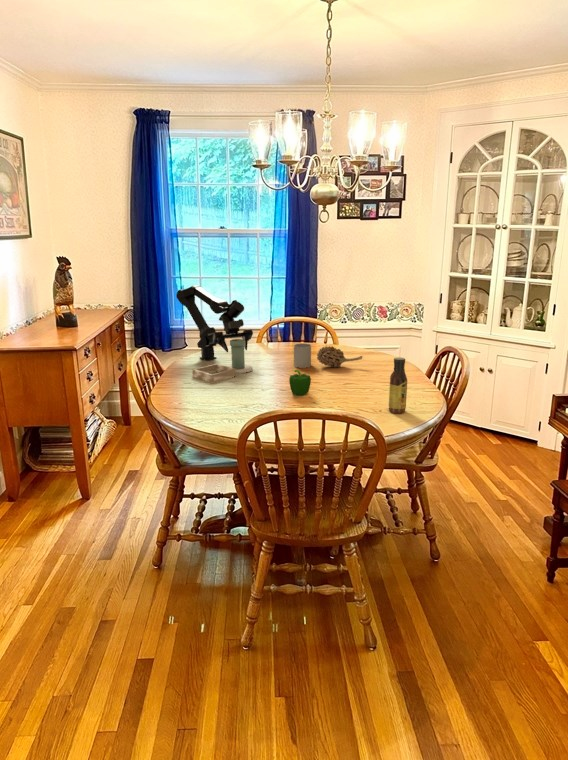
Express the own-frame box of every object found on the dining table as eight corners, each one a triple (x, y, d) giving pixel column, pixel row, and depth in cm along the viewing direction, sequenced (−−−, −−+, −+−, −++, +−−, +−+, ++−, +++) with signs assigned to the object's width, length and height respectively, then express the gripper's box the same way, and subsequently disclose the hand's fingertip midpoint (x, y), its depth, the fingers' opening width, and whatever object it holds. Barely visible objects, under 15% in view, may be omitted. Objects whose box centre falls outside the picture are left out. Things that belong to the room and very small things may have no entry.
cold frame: (192, 377, 253) (192, 369, 252) (216, 370, 262) (216, 363, 261) (212, 382, 243) (211, 375, 242) (236, 376, 253) (236, 368, 252)
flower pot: (227, 367, 263) (226, 340, 259) (239, 365, 267) (238, 338, 264) (237, 370, 258) (236, 342, 254) (248, 367, 263) (248, 340, 259)
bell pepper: (314, 395, 225) (314, 371, 222) (296, 398, 221) (296, 374, 218) (303, 390, 232) (303, 366, 229) (286, 393, 228) (286, 369, 225)
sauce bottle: (404, 415, 202) (406, 361, 196) (386, 413, 204) (389, 360, 198) (407, 409, 208) (409, 357, 202) (390, 407, 210) (392, 355, 204)
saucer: (221, 370, 263) (221, 368, 263) (240, 365, 271) (240, 363, 271) (238, 375, 255) (238, 372, 255) (257, 370, 263) (257, 367, 263)
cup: (313, 366, 268) (314, 346, 265) (298, 368, 265) (297, 348, 262) (306, 362, 275) (306, 342, 272) (291, 364, 272) (291, 344, 270)
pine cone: (316, 369, 263) (316, 348, 260) (317, 364, 272) (317, 344, 270) (363, 370, 261) (364, 349, 258) (362, 364, 270) (363, 344, 268)
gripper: (213, 315, 259) (221, 343, 252) (251, 312, 266) (260, 339, 259) (209, 328, 268) (216, 356, 262) (246, 325, 275) (254, 352, 269)
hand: (237, 350), depth 262 cm, fingers open, 9 cm apart
